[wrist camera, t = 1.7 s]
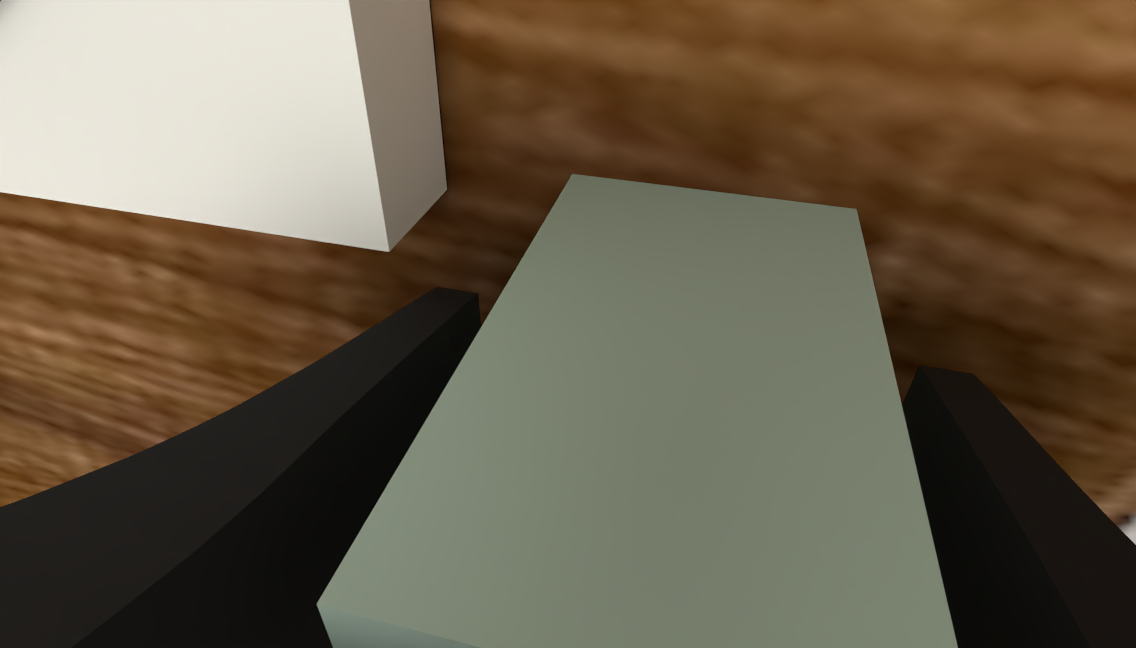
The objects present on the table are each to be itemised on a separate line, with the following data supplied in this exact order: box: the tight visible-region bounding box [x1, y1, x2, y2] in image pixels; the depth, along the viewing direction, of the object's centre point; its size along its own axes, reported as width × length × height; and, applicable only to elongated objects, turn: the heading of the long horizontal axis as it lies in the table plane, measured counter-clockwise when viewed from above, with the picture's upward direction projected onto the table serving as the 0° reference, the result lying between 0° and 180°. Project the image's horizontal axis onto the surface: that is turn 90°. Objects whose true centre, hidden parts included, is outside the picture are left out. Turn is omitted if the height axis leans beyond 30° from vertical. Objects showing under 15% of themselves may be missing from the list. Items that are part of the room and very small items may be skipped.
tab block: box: [317, 174, 958, 648], centre depth 8 cm, size 4×4×7 cm
